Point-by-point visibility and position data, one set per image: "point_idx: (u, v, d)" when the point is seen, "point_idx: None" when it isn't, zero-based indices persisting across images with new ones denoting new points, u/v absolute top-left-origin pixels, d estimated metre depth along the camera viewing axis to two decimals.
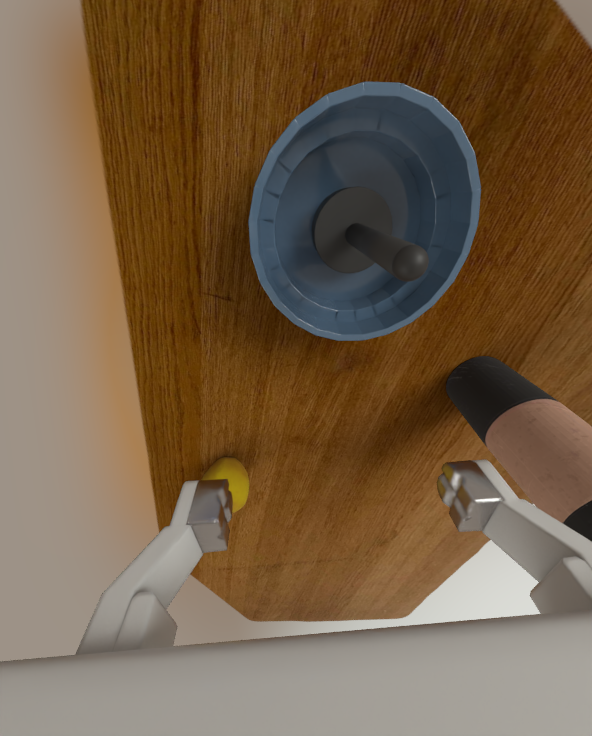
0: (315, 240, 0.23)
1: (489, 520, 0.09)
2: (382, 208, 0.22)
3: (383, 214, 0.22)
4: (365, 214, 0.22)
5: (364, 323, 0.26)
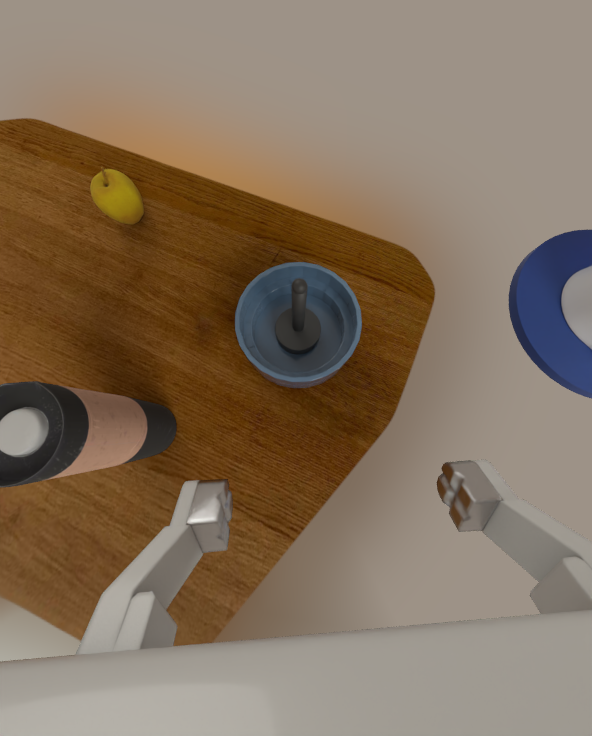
0: None
1: (489, 520, 0.09)
2: (307, 344, 0.39)
3: (304, 345, 0.39)
4: (306, 335, 0.39)
5: (242, 324, 0.38)
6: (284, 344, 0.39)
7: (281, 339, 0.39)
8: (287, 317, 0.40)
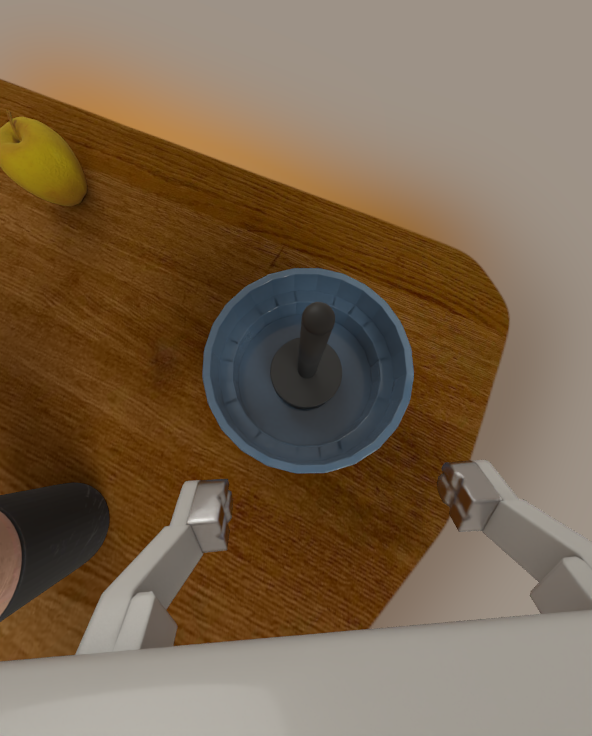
0: None
1: (489, 520, 0.09)
2: (320, 398, 0.24)
3: (315, 399, 0.24)
4: (318, 383, 0.25)
5: (217, 364, 0.24)
6: (284, 397, 0.24)
7: (279, 389, 0.24)
8: (290, 353, 0.25)
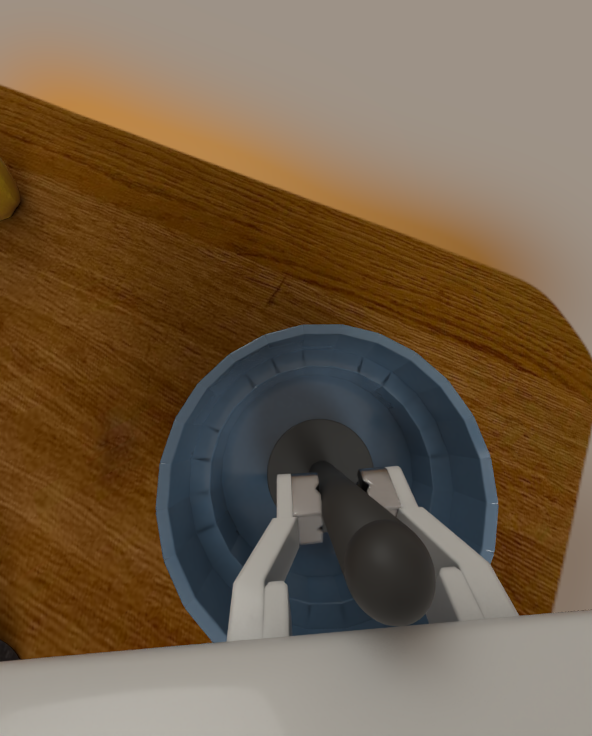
0: (323, 420, 0.17)
1: None
2: None
3: None
4: None
5: (185, 472, 0.15)
6: None
7: None
8: (296, 445, 0.17)
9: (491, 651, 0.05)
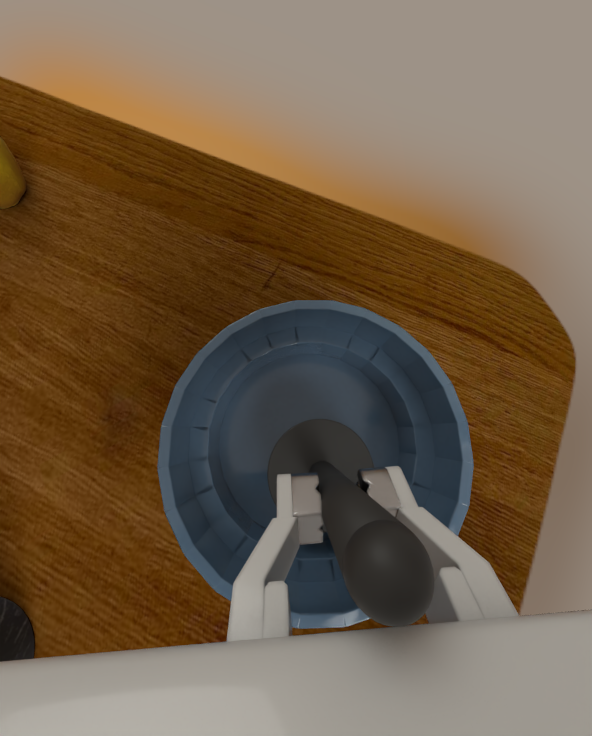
0: (323, 420, 0.17)
1: None
2: None
3: None
4: None
5: (185, 438, 0.16)
6: None
7: None
8: (296, 445, 0.17)
9: (491, 651, 0.05)
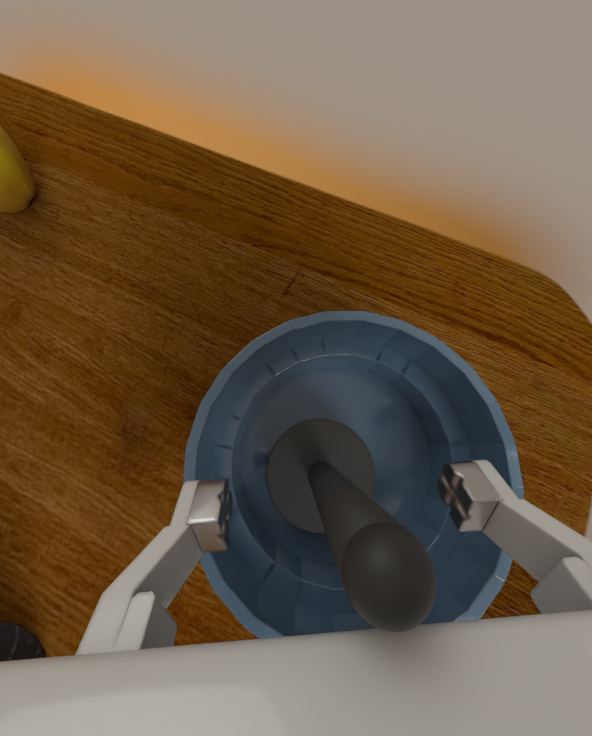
0: (323, 420, 0.17)
1: (489, 520, 0.09)
2: None
3: None
4: None
5: (208, 458, 0.15)
6: (287, 517, 0.16)
7: (280, 504, 0.16)
8: (296, 445, 0.17)
9: (491, 651, 0.05)
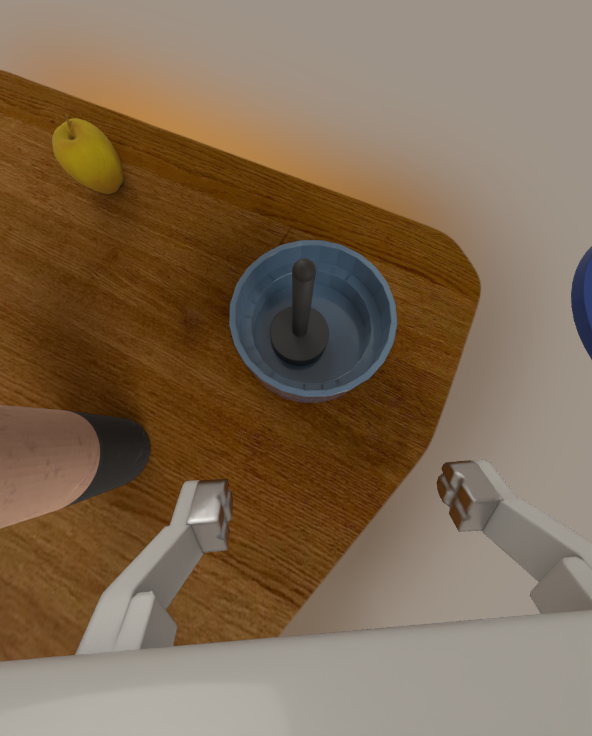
0: None
1: (489, 520, 0.09)
2: (311, 354, 0.30)
3: (306, 354, 0.30)
4: (309, 341, 0.30)
5: (239, 318, 0.29)
6: (281, 352, 0.30)
7: (277, 346, 0.30)
8: (286, 318, 0.31)
9: (491, 651, 0.05)
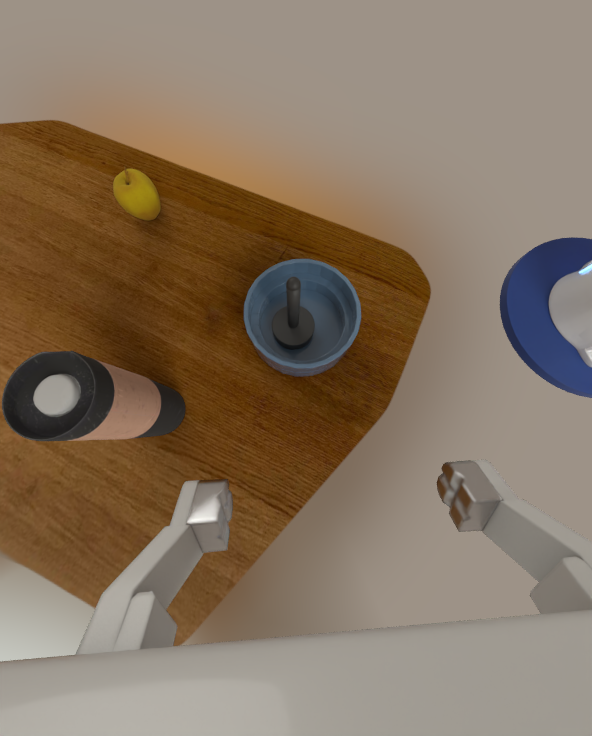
0: None
1: (489, 520, 0.09)
2: (301, 340, 0.41)
3: (298, 340, 0.41)
4: (300, 331, 0.42)
5: (250, 314, 0.41)
6: (280, 339, 0.41)
7: (277, 335, 0.42)
8: (283, 314, 0.42)
9: (491, 651, 0.05)
